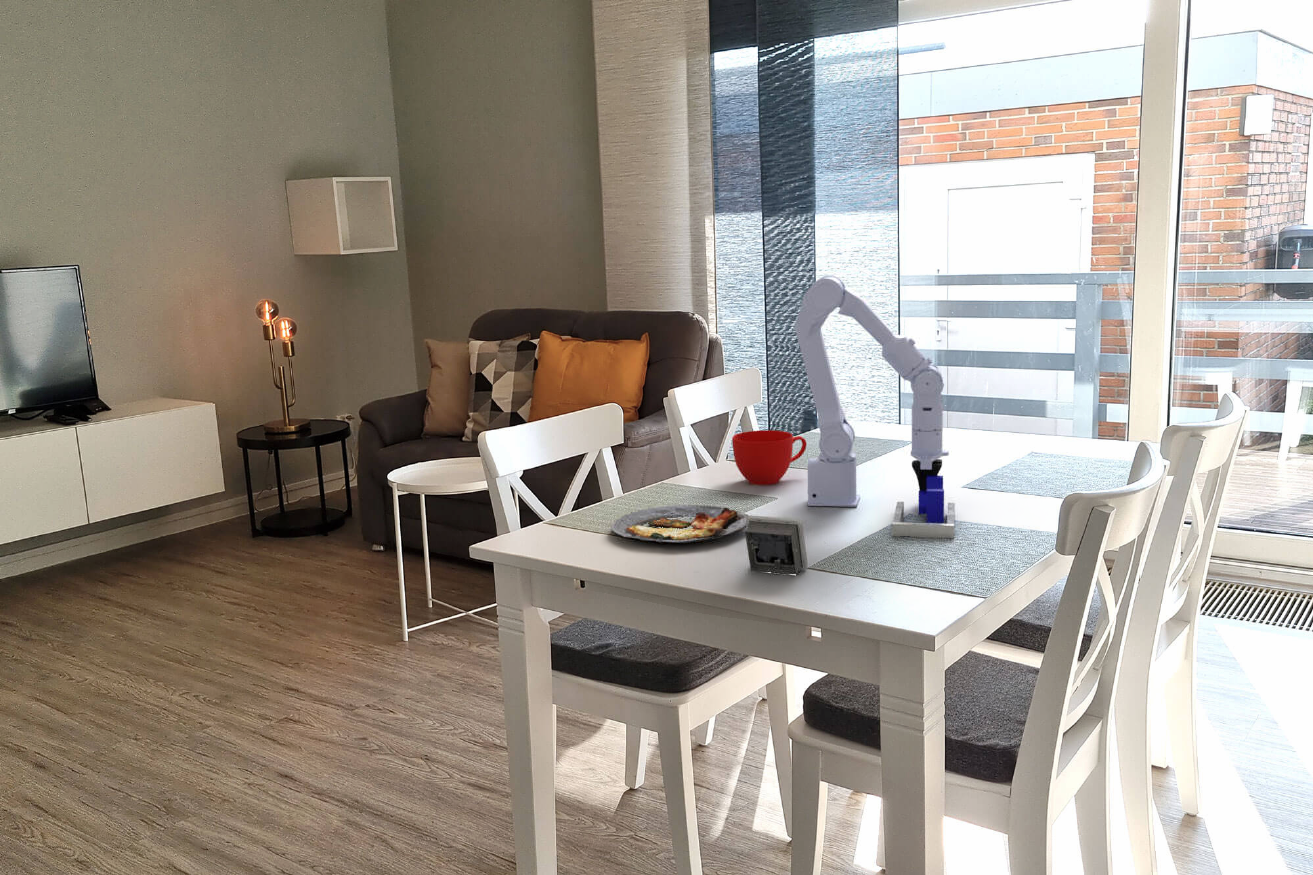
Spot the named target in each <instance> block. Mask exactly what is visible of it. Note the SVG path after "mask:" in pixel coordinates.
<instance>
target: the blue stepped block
mask: <svg viewBox="0 0 1313 875" xmlns="http://www.w3.org/2000/svg"><path fill="white" fill-rule="evenodd" d="M918 515H926V523H939V524H945V489H944V475H938V476H927V491H920V490H918Z"/></svg>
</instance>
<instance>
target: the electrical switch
mask: <svg viewBox="0 0 1313 875" xmlns="http://www.w3.org/2000/svg"><path fill="white" fill-rule="evenodd" d="M744 535H745V536H744V537H745V542H746V550H747V556H748V562H749V568H750V571H751V572H752V571H754V572H753V573H761V572H771V573H776V574H775V575H781V574H796V576H798V574H799V572H800V571H806V570H807V567H808V556H807V549H806V540H805V539H806V538H805V533H804V524H803V521H802V520H801V519H799V518H788V517H779V516H778V517H777V516H764V515H763V516H762V515H749V516H748V517H747V519H746V528H745V531H744ZM755 571H756V572H755ZM771 573H770V574H771ZM778 573H779V574H778Z"/></svg>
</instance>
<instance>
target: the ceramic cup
mask: <svg viewBox="0 0 1313 875" xmlns="http://www.w3.org/2000/svg"><path fill="white" fill-rule="evenodd" d="M731 440H732V441H731V442H732V444H731V445H732V451H733V458H734V462H735V464H736V467H737V469H738V471H739V472H740V474H741V475H742V476H743V477H744V480H747V482H748V484H751V485H755V486H769V485H775V484H778V483H780V480H781V479H782V478H783V477H784V476H785V474H786V473H787V471H788V469H789V467H790V465H791V463H793V462H795V461H797V460H798V459H799V458H801V457H802V456H803V454H804V453H805V451H806V450H807V440H806V439H805V438H804V437H802V436H794V435H793V434H792V433H791V432H788V431H781V430H750V431H745V432H739V433H736V434H734V435H733V436H732V439H731ZM796 441H801V443H802V444H801V447H800V449H799V451H798V453H796V454H795V455H794V456H793V448H794V443H795V442H796Z"/></svg>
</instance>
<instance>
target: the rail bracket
mask: <svg viewBox="0 0 1313 875" xmlns="http://www.w3.org/2000/svg"><path fill="white" fill-rule="evenodd" d="M955 505H956V504H955V502H947V512H946V513H947V514H946V515H947V516H946V518H947V519H946V523H927V522H903V520H904V513H905V512H904V511H905V510H904V509H905V502H904V501H897V502H896V505H895V510H894V515H893V519H892V522H891V523H892V524H891V525H892V526H891V531H892V532H891V533H892V534H891V535H892V537H900V536H910V537H911V538H932V539H933V538H934V539H935V538H937V539H938V538H939V539H941V538H942V539H955V509H956V508H955V507H956V506H955ZM910 537H909V538H910Z"/></svg>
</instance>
